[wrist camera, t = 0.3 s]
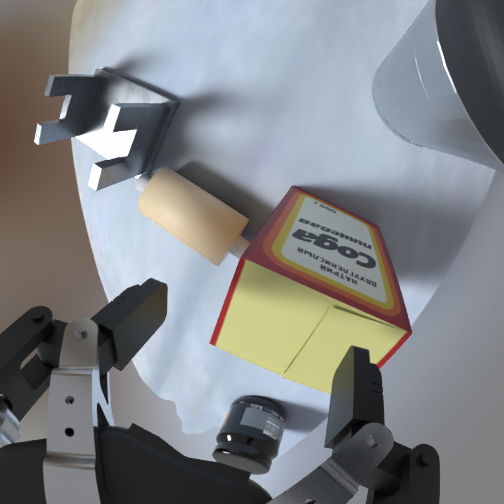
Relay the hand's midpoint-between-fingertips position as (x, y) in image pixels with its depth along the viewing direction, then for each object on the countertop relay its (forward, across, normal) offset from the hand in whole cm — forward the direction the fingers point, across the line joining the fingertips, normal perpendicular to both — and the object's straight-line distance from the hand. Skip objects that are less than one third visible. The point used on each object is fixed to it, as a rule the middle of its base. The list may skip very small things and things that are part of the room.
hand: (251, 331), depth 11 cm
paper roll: (+18, +10, +2) cm, 21 cm away
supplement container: (+20, -3, +36) cm, 42 cm away
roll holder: (+18, +23, -6) cm, 30 cm away
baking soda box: (+18, -3, +1) cm, 19 cm away
